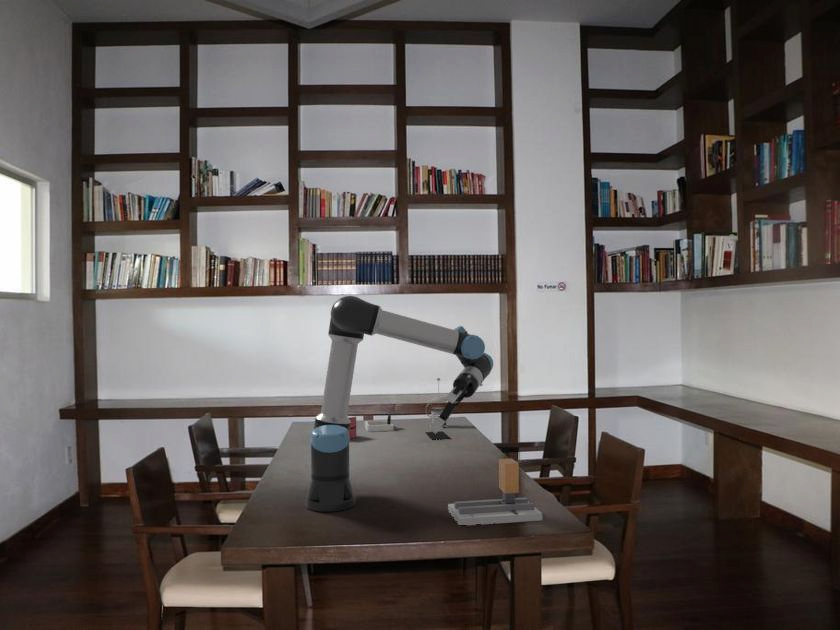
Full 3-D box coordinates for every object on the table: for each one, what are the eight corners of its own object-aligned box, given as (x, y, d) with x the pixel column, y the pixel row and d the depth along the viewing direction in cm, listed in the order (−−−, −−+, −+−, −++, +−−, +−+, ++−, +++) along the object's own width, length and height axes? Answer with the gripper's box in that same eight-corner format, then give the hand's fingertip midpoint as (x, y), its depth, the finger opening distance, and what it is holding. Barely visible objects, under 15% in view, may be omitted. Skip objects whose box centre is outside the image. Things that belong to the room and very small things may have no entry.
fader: (504, 510, 185) (504, 463, 184) (498, 503, 190) (498, 459, 190) (519, 509, 185) (519, 463, 185) (512, 503, 191) (512, 458, 191)
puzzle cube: (356, 438, 304) (356, 416, 304) (340, 441, 296) (340, 419, 296) (343, 435, 310) (342, 414, 310) (326, 438, 303) (326, 417, 303)
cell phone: (442, 433, 316) (442, 431, 316) (451, 440, 299) (451, 438, 299) (425, 433, 315) (425, 432, 315) (432, 441, 297) (432, 439, 297)
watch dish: (367, 431, 319) (367, 425, 319) (364, 427, 332) (364, 421, 332) (393, 430, 322) (393, 424, 321) (390, 426, 334) (389, 420, 334)
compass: (374, 428, 329) (374, 414, 329) (389, 427, 330) (389, 413, 330) (376, 431, 321) (375, 416, 321) (391, 430, 322) (391, 416, 322)
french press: (448, 428, 327) (448, 379, 327) (425, 428, 327) (425, 379, 327) (448, 424, 337) (447, 377, 337) (425, 425, 337) (425, 377, 337)
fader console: (459, 525, 178) (459, 512, 178) (448, 510, 192) (448, 498, 192) (542, 520, 182) (542, 507, 182) (525, 505, 196) (525, 493, 196)
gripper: (493, 361, 203) (467, 394, 186) (462, 414, 217) (435, 449, 200) (473, 348, 205) (446, 380, 188) (443, 401, 219) (415, 435, 201)
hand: (440, 416), depth 194 cm, fingers open, 13 cm apart
